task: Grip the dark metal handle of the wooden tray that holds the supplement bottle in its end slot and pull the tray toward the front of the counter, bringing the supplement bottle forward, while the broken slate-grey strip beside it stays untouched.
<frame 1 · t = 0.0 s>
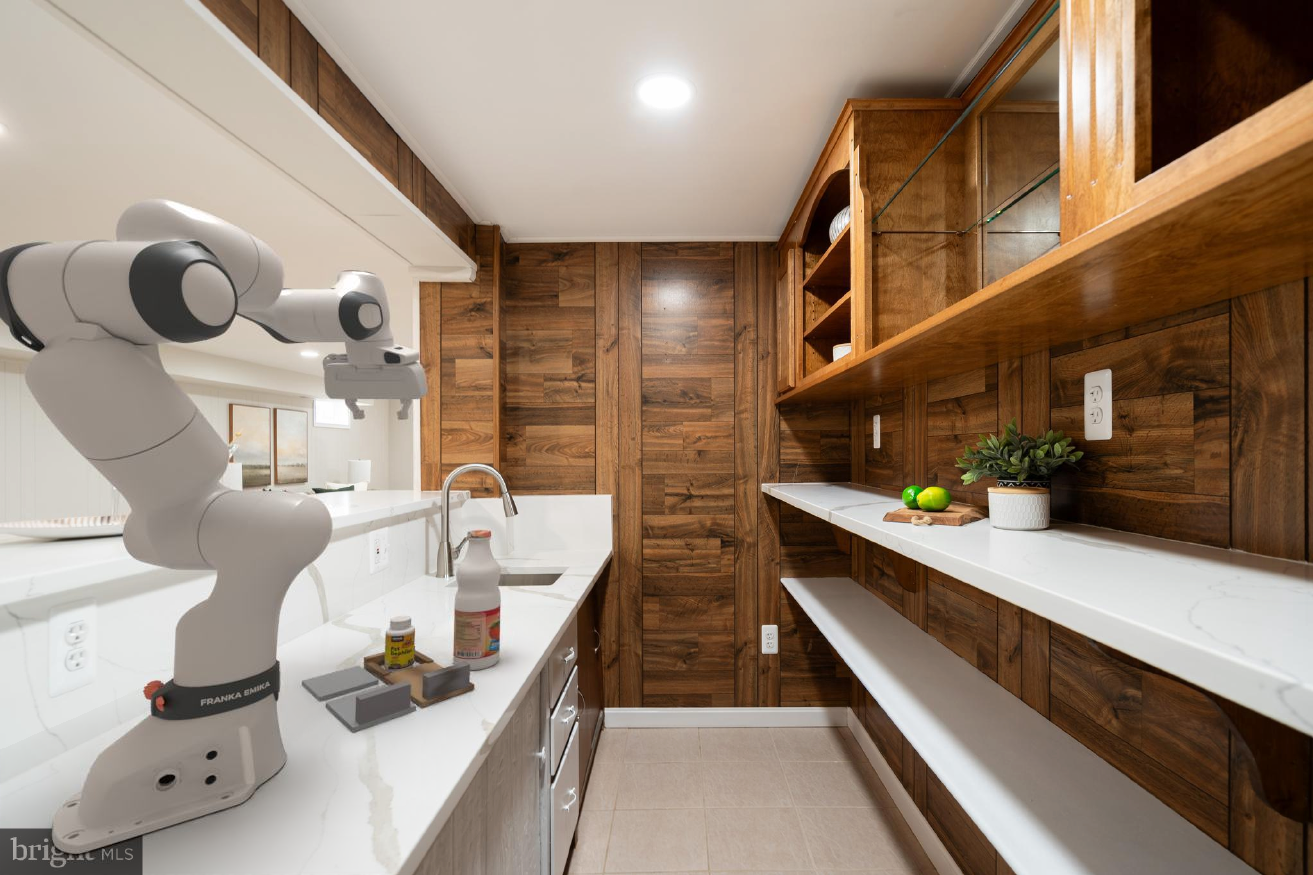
hand: (381, 419, 111), 52 cm above the counter, tool tilted 20°, fingers open, 8 cm apart
wooden tray: (416, 664, 104), point 3 cm above the counter, slide at 0.0 cm
supplement bottle: (399, 668, 109), resting in wooden tray
broken grey strip: (354, 695, 96), on the counter
fruit juice: (476, 663, 112), on the counter
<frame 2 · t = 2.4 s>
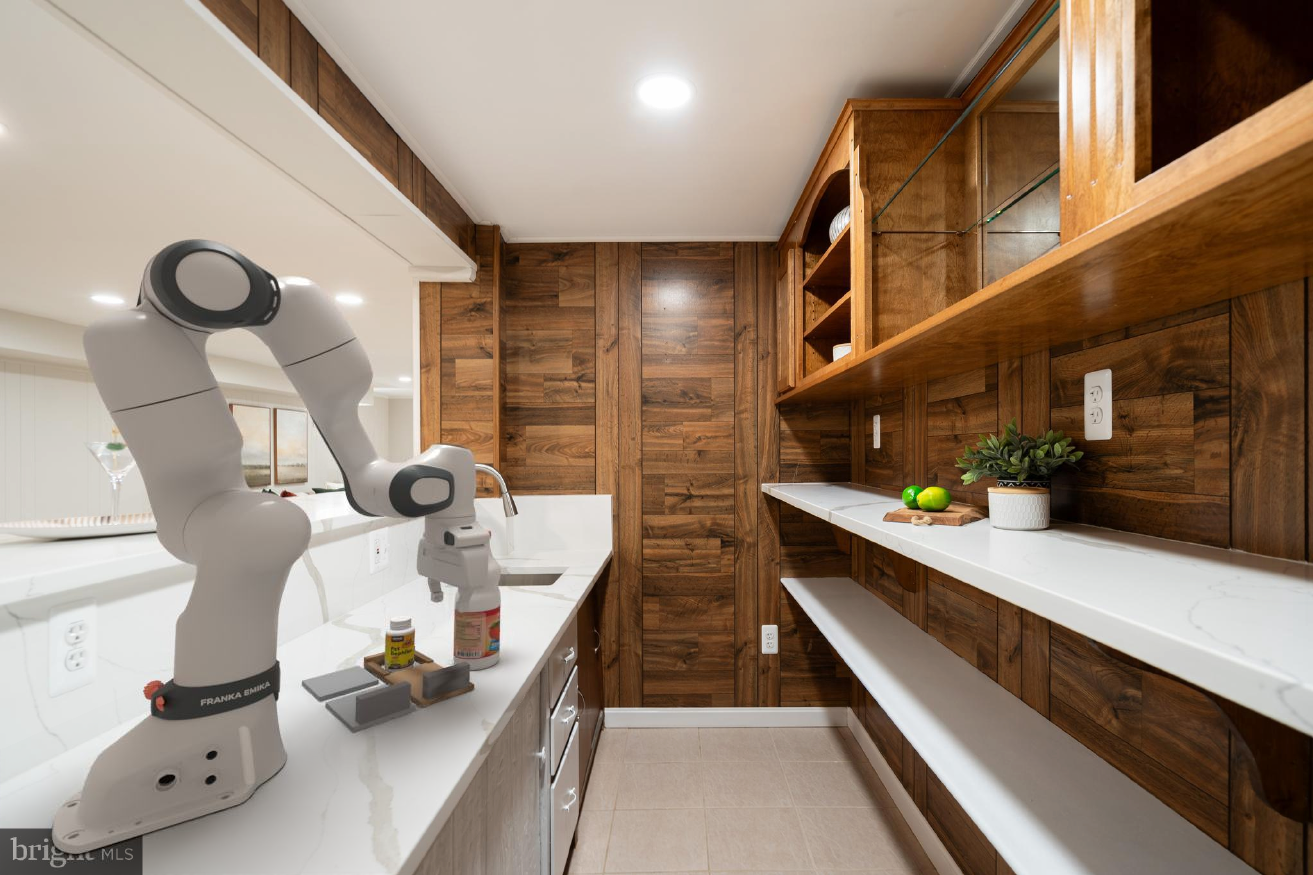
hand: (449, 606, 97), 16 cm above the counter, tool pointing down, fingers open, 8 cm apart
nothing on the counter moved.
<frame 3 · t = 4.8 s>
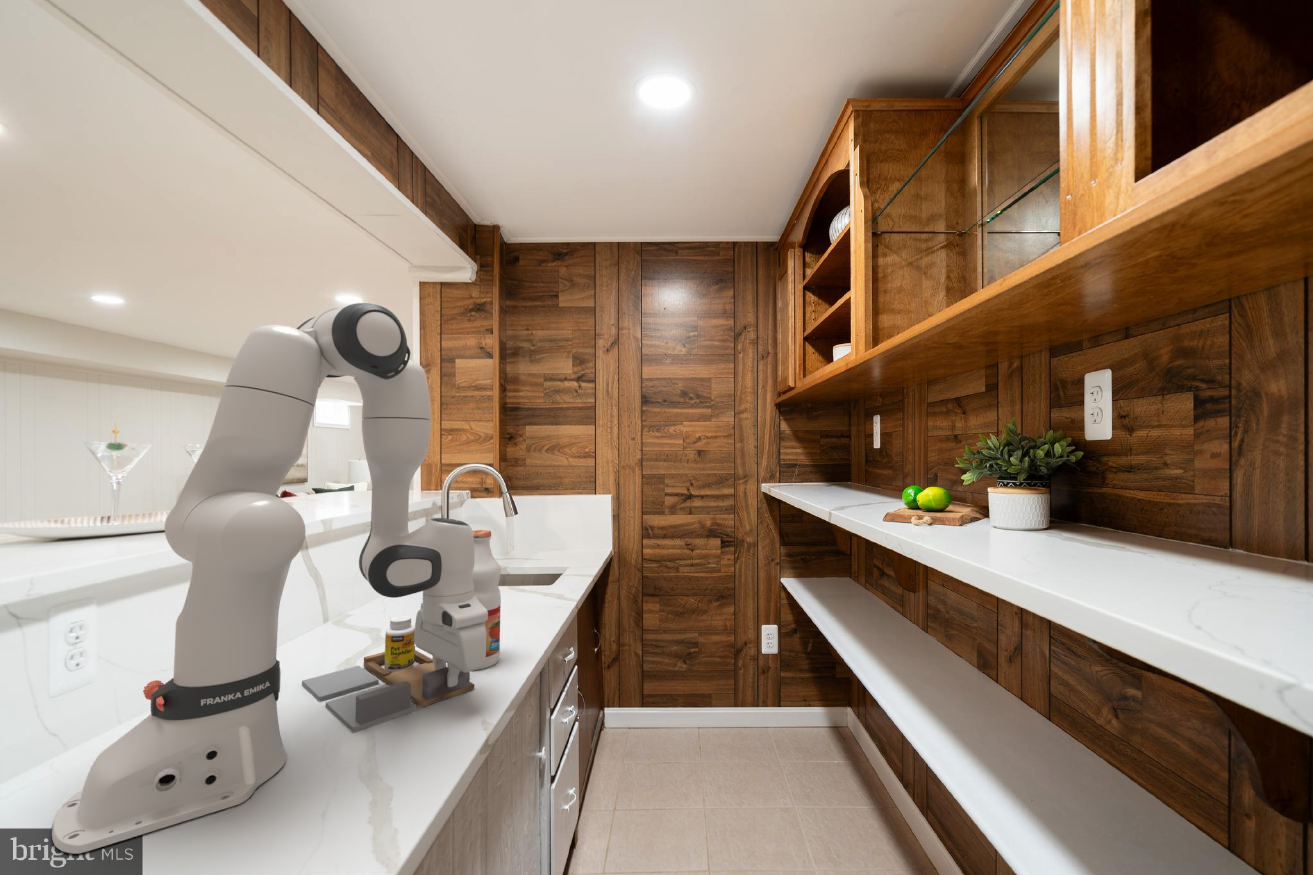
hand: (446, 682, 96), 3 cm above the counter, tool pointing down, fingers closed on wooden tray, 2 cm apart
wooden tray: (416, 664, 104), point 3 cm above the counter, slide at 0.0 cm, touching gripper
everything else where it was.
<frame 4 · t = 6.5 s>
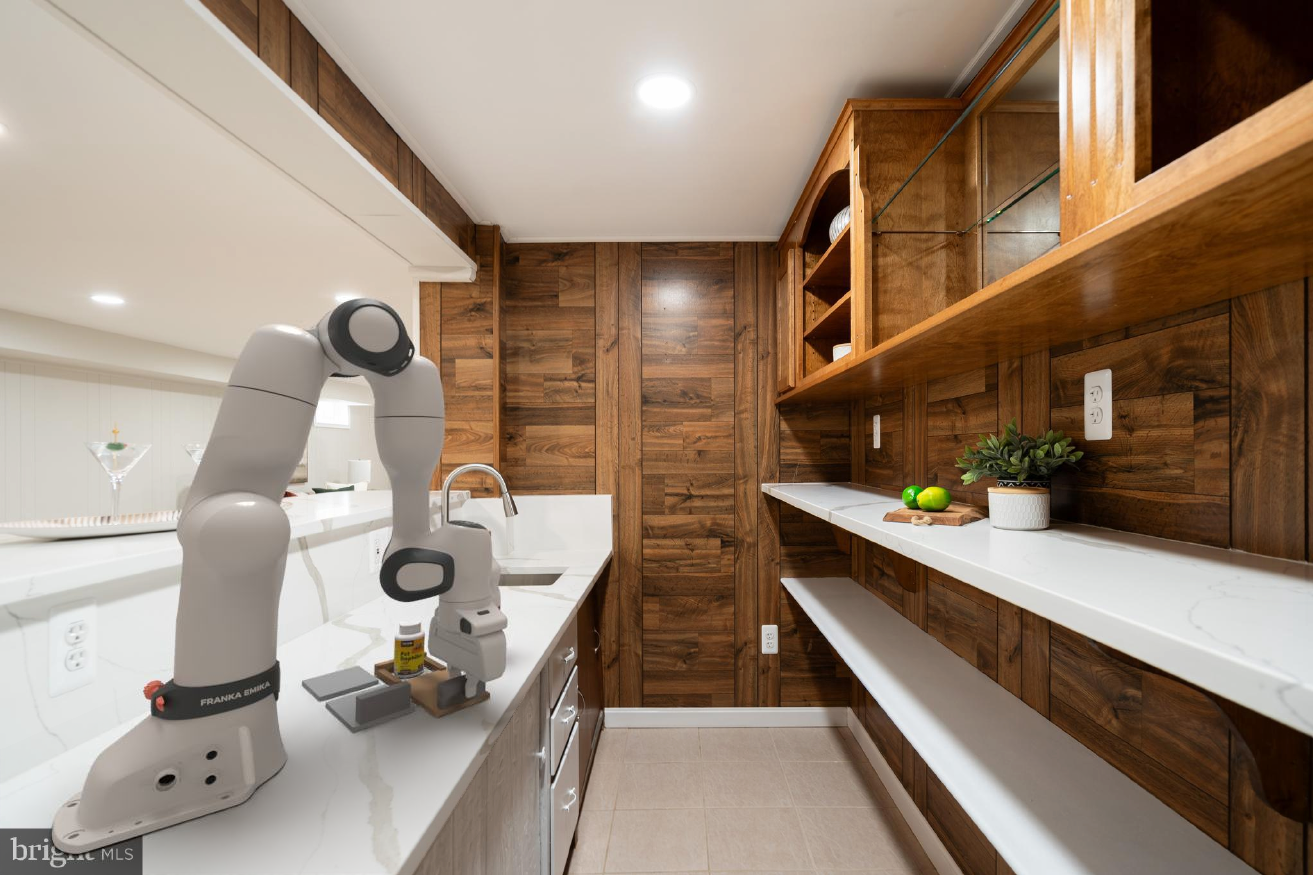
hand: (463, 692, 92), 3 cm above the counter, tool pointing down, fingers open, 3 cm apart
wooden tray: (429, 672, 100), point 3 cm above the counter, slide at 5.6 cm, touching supplement bottle, gripper
supplement bottle: (408, 674, 106), resting in wooden tray
everything else where it was.
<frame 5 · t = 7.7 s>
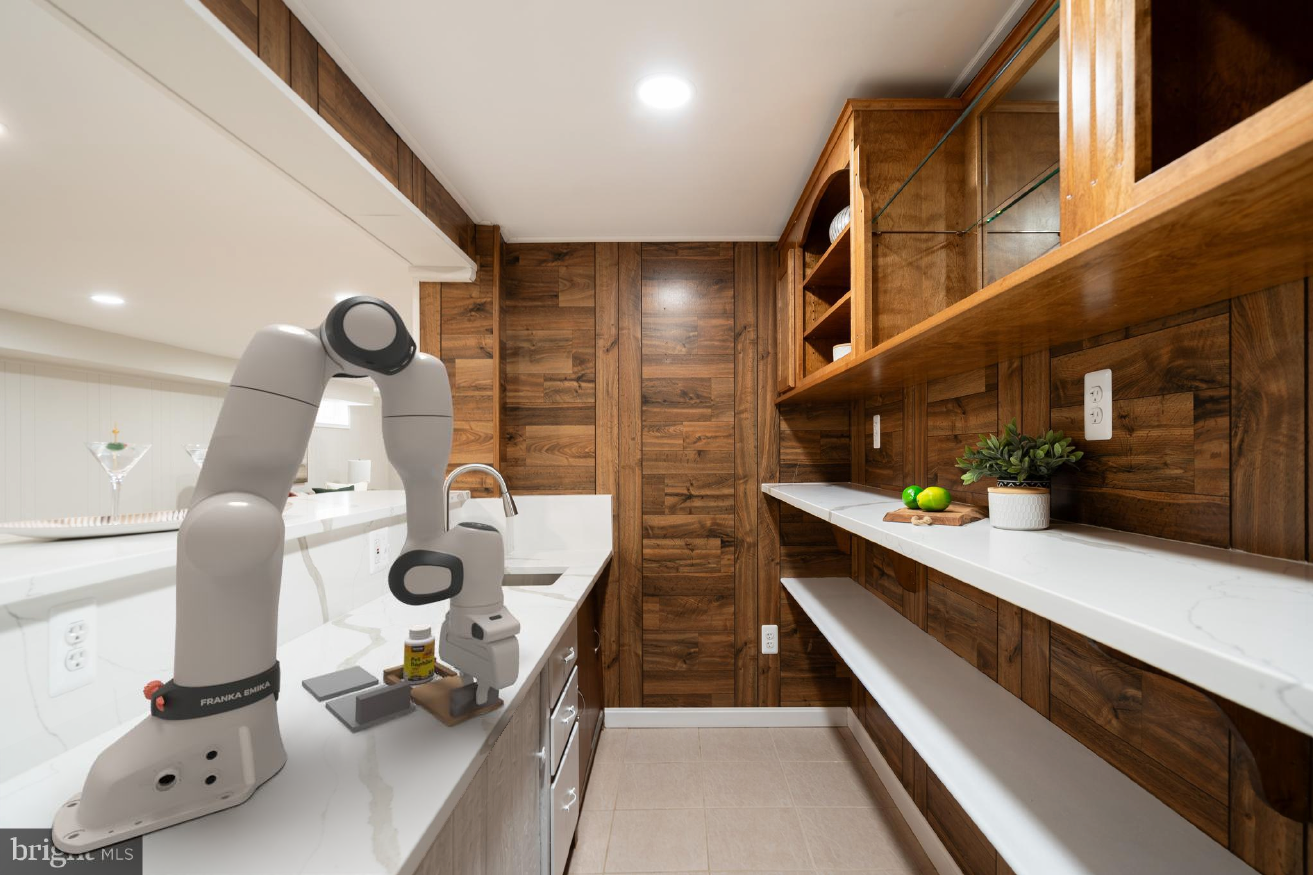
hand: (474, 699, 90), 3 cm above the counter, tool pointing down, fingers closed on wooden tray, 2 cm apart
wooden tray: (440, 678, 98), point 3 cm above the counter, slide at 9.9 cm, touching gripper
supplement bottle: (418, 680, 103), resting in wooden tray
everything else where it was.
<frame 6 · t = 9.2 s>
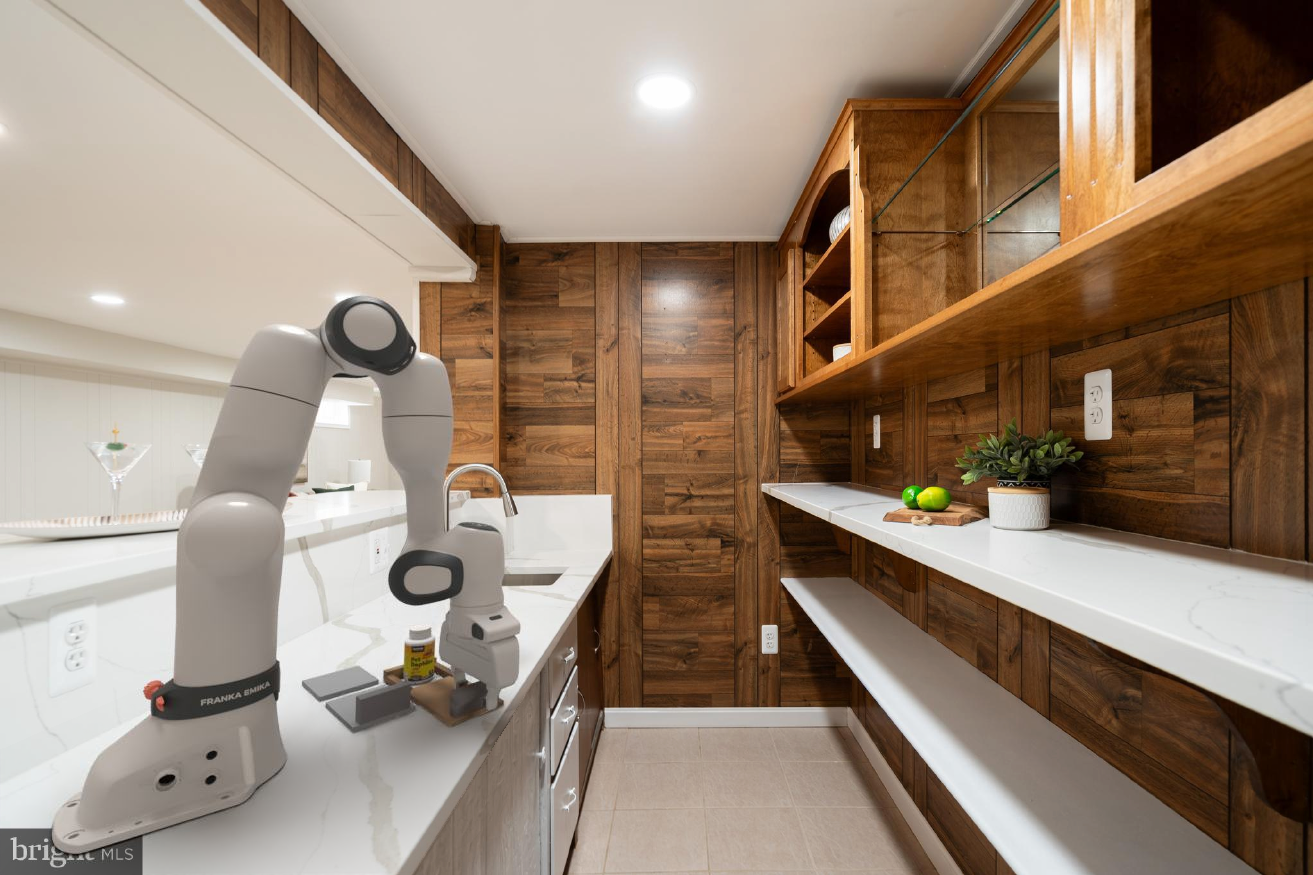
hand: (475, 699, 90), 3 cm above the counter, tool pointing down, fingers open, 8 cm apart
wooden tray: (440, 679, 98), point 3 cm above the counter, slide at 9.9 cm
everything else where it was.
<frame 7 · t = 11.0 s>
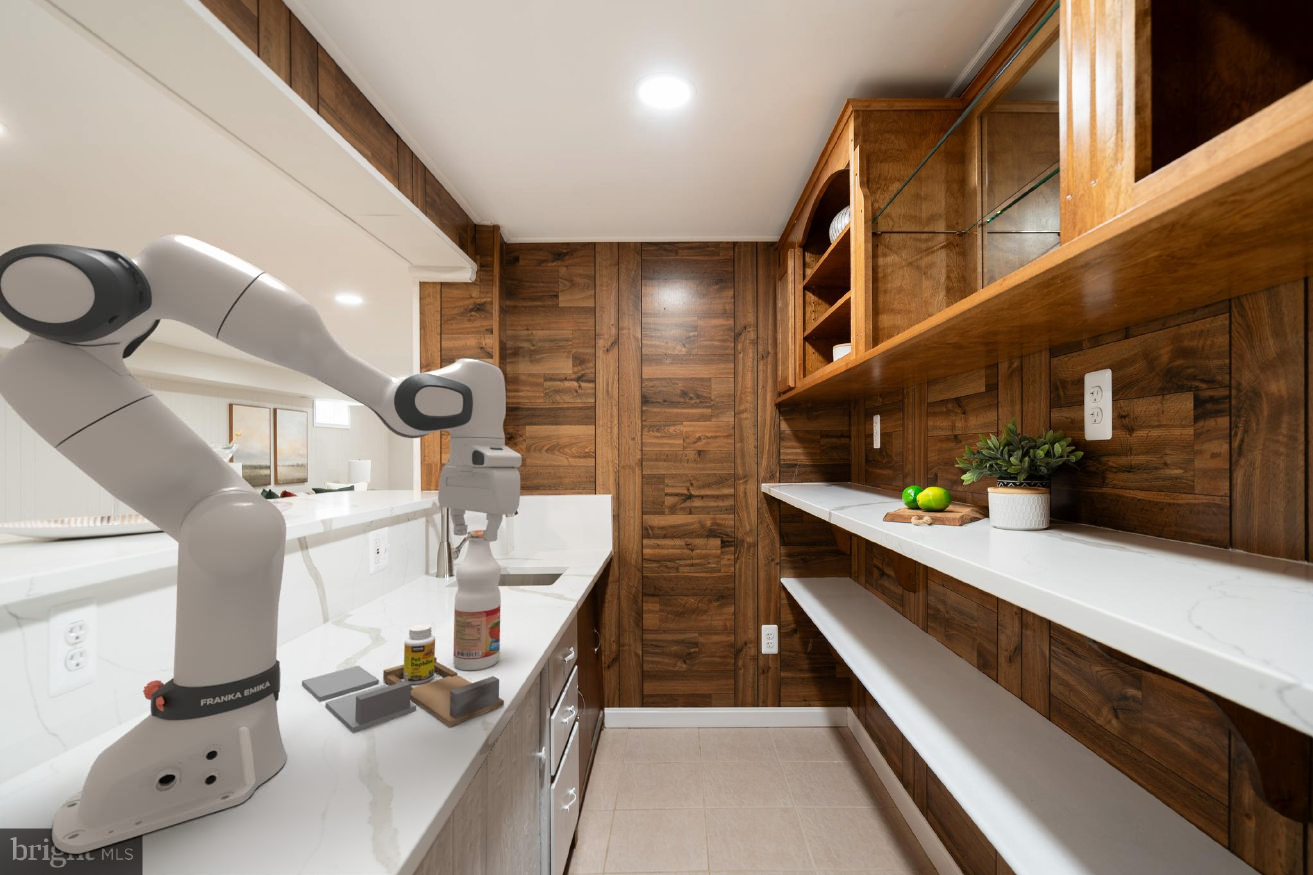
hand: (474, 538, 88), 30 cm above the counter, tool pointing down, fingers open, 8 cm apart
nothing on the counter moved.
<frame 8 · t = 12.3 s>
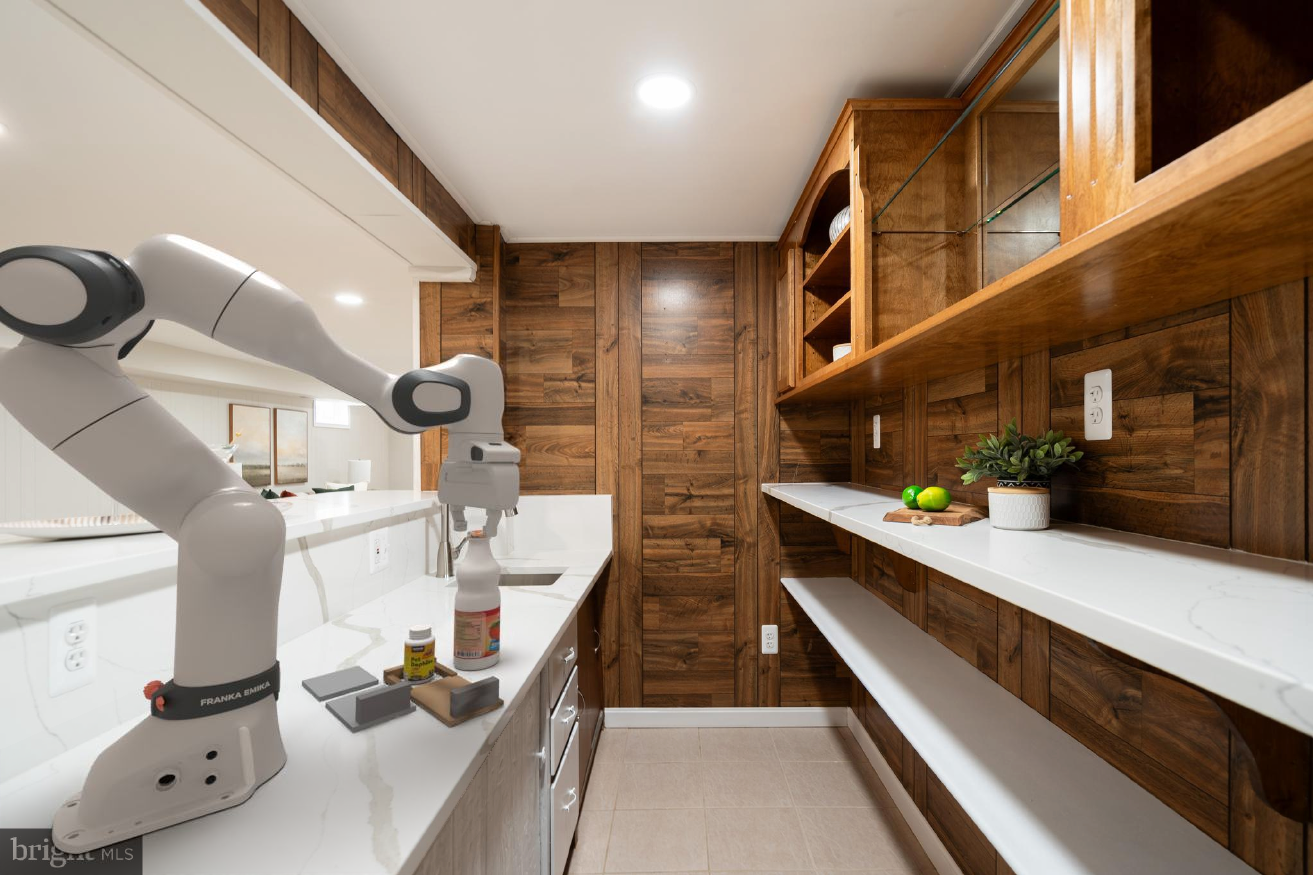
hand: (474, 533, 88), 31 cm above the counter, tool pointing down, fingers open, 8 cm apart
nothing on the counter moved.
at the end: wooden tray slide at 9.9 cm; supplement bottle inside the target area (0.8 cm from its centre), resting in wooden tray; supplement bottle tilted 0° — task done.
